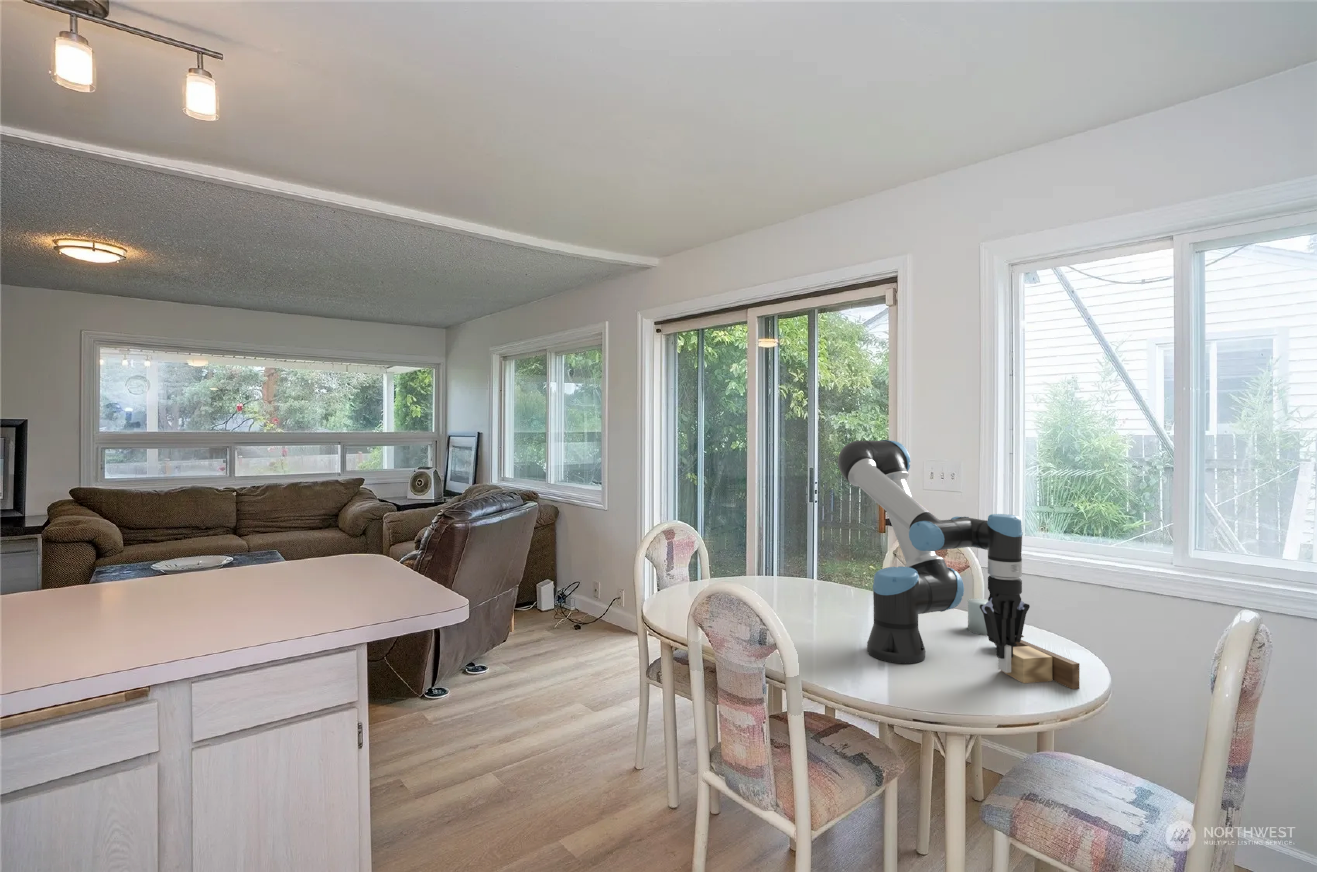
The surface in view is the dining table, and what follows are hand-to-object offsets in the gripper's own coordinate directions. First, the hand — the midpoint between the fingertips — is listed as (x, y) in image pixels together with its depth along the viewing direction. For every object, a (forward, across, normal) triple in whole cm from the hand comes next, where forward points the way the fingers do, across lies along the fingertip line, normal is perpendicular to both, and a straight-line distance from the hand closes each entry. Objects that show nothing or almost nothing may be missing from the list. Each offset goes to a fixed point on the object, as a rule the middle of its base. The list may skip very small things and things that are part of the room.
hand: (1004, 670), depth 158 cm
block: (+2, +6, 0) cm, 6 cm away
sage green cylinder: (+2, +21, +33) cm, 40 cm away
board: (+2, +11, 0) cm, 12 cm away
